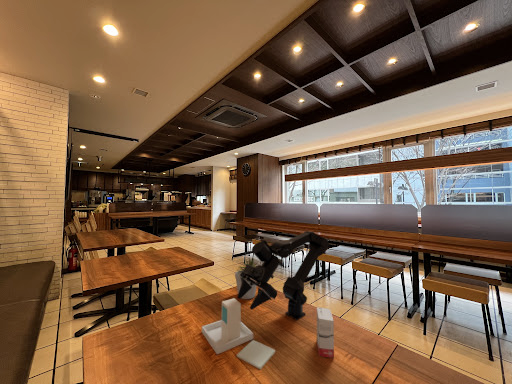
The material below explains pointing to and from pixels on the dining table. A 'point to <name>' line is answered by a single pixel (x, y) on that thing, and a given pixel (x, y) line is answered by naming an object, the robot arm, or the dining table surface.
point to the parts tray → (214, 338)
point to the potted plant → (251, 292)
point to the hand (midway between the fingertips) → (243, 303)
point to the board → (256, 354)
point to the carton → (230, 320)
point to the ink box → (325, 332)
